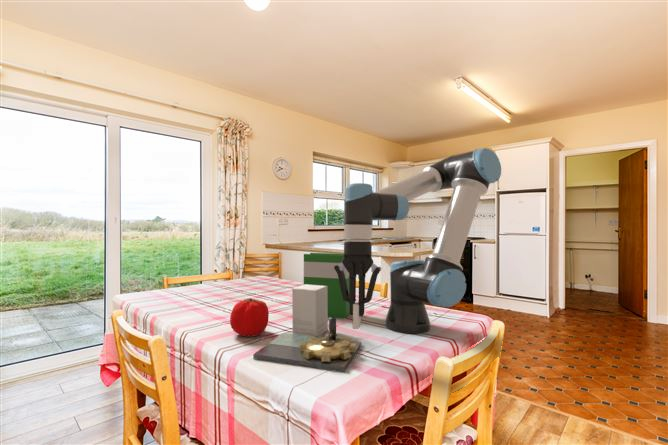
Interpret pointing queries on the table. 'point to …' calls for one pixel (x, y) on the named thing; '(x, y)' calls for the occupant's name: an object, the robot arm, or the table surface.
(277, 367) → the table surface
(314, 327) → the supplement box
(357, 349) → the plate
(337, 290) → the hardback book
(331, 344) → the sprocket
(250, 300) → the tomato
